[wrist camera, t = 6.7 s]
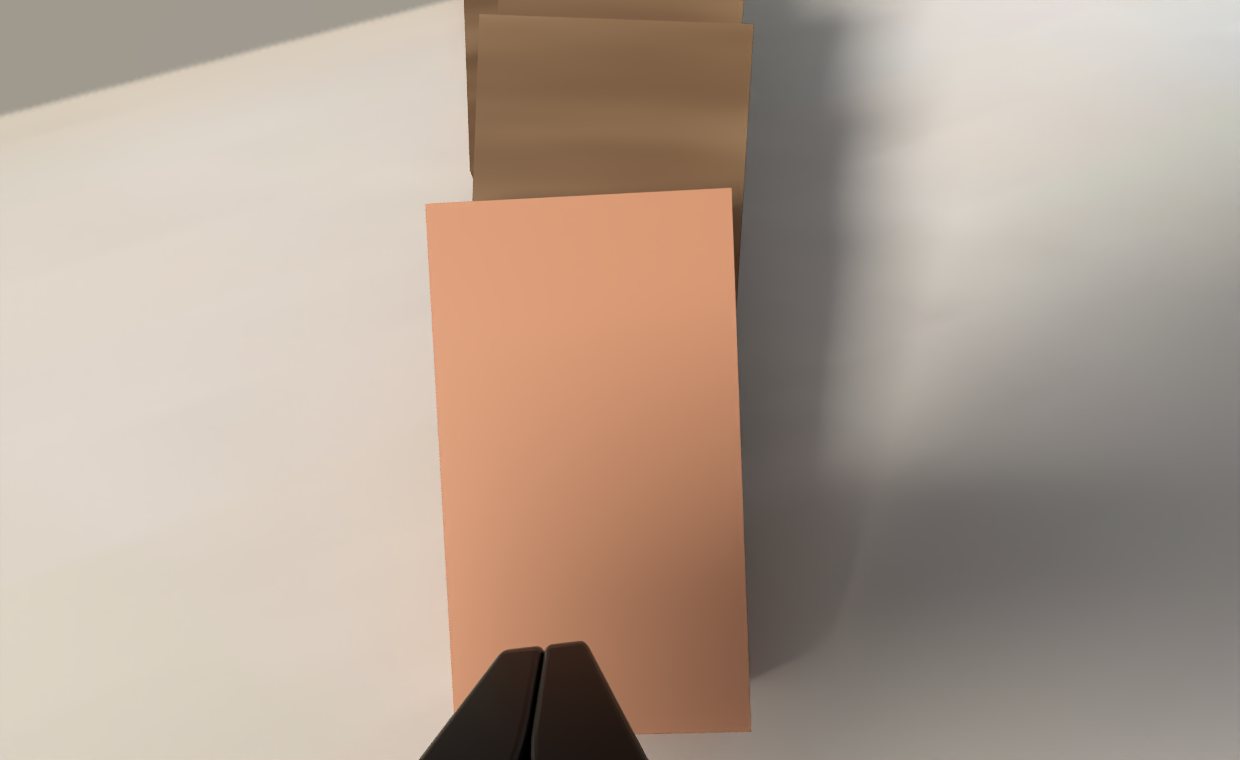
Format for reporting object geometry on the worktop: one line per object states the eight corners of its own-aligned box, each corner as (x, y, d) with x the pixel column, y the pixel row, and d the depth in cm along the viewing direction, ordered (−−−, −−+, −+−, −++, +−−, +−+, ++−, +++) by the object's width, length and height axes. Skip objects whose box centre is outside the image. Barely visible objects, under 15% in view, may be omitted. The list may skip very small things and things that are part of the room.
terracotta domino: (750, 731, 12) (731, 187, 11) (455, 738, 12) (424, 203, 12) (738, 685, 13) (721, 207, 13) (478, 692, 14) (451, 220, 13)
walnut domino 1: (715, 349, 15) (751, -98, 14) (478, 332, 15) (505, -111, 14) (708, 348, 16) (740, -54, 16) (494, 332, 17) (518, -67, 16)
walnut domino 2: (723, 514, 13) (754, 23, 13) (461, 498, 14) (478, 14, 13) (715, 495, 15) (742, 58, 14) (481, 481, 15) (497, 49, 15)
